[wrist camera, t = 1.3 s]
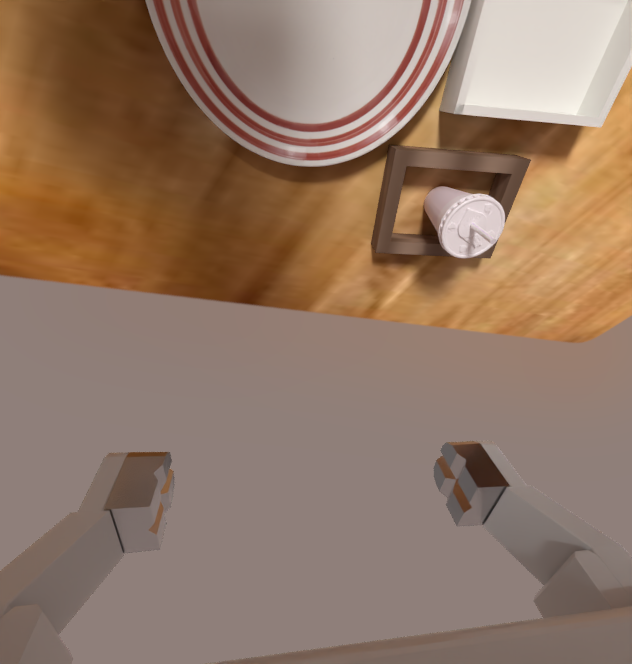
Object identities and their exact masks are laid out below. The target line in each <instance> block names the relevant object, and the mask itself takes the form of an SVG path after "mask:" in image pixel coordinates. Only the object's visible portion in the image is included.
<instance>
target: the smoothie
mask: <svg viewBox="0 0 632 664" xmlns="http://www.w3.org/2000/svg"><path fill="white" fill-rule="evenodd" d="M424 209H425V212H426V213H427V215H428V217H429V219H430V220H431V222H432V224H433V226H434V227H435V229H436V231H437V233H438V237H439V242H440V244H441V246H442V248H443V249H444V250H446V251H447V252H448V253H449V254H450V255H452V256H454V257H457V258H472V257H475V256H478V255H480V254H482V253H484V252H485V251H487V250H488V249H489V248H490V247H491V246H493V245H494V244H495V243H496V241H497V240H498V238H499V237H500V235H501V233H502V231H503V228H504V224H505V213H504V210H503V207H502V206H501V204H500V203H499V202H498V201H496V200H495V199H494V198H492V197H490V196H488V195H485V194H470V193H467V192H463V191H460V190H456V189H453V188H449V187H446V186H439V187H436V188H434V189H432V190H431V191H430V192H429V193H428V195H427V196H426V198H425V201H424Z"/></svg>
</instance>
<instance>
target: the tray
mask: <svg viewBox="0 0 632 664" xmlns="http://www.w3.org/2000/svg"><path fill="white" fill-rule="evenodd" d="M631 66H632V0H471V4H470V8H469V11H468V15H467V18H466V21H465V24H464V27H463V30H462V33H461V36H460V39H459V41H458V44H457V46H456V48H455V51H454V53H453V57H452V61H451V65H450V69H449V73H448V77H447V81H446V85H445V89H444V93H443V97H442V101H441V105H440V109H439V111H442V112H447V113H453V114H462V115H473V116H483V117H494V118H505V119H516V120H527V121H538V122H548V123H559V124H570V125H581V126H592V127H602V125H603V123H604V121H605V119H606V117H607V115H608V113H609V111H610V109H611V107H612V105H613V103H614V101H615V99H616V97H617V95H618V93H619V91H620V89H621V87H622V85H623V83H624V81H625V79H626V76H627V74H628V72H629V70H630V68H631Z"/></svg>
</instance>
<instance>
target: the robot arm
mask: <svg viewBox="0 0 632 664" xmlns="http://www.w3.org/2000/svg"><path fill="white" fill-rule="evenodd" d="M441 453H442V454H443V456H441V457H440V458H439V459H437V460H436V463H435V466H434V478H435V482H436V485H437V487H438V489H439V491H440V492H441V493H442V494H443V495H445V496H446V497H447V503H446V506H447V508H448V510H449V511H450V514H451V515H452V518H453V519H454V522H455V524H456V526H474V525H483V527H484V528H485V529H486V530H487V531H488V532H489V533H490V534H491V535H492V536H493V537H494V538H495V539H496V540H497V541H498V542H499V543H500V544H501V545H502V546H503V547H504V548H506V549H507V550H508V551H509V552H510V553H511V554H512V555H513V556H514V557H515V558H516V559H517V560H518V561H519V562H520V563H521V564H522V565H523V566H524V567H525V568H526V569H527V570H528V571H529V572H531V573H532V574H533V575H534V576H535V577H536V578H537V579H538V580H539V581H540V582H541V583H542V584H543V585H544V586H543V587H542V589H541V590H540V591H539V592H538V593H537V594H536V595H535V598H534V602H535V604H536V606H537V608H538V610H539V611H540V613H541V615H542V617H543V618H540V619H533V620H526V621H519V622H511V623H503V624H496V625H488V626H482V627H473V628H466V629H459V630H451V631H444V632H437V633H429V634H422V635H414V636H407V637H400V638H392V639H385V640H377V641H370V642H362V643H355V644H348V645H341V646H333V647H326V648H319V649H311V650H303V651H296V652H289V653H281V654H274V655H266V656H259V657H251V658H245V659H237V660H230V661H222V662H215V663H208V664H632V557H631V556H630V555H629V553H628V552H627V551H626V550H625V549H624V548H623V546H622V545H620V544H619V543H617V542H616V541H614V540H613V539H611V538H610V537H608V536H606V535H605V534H604V533H602V532H601V531H599V530H598V529H596V528H595V527H593V526H592V525H590V524H588V523H587V522H585V521H584V520H582V519H581V518H579V517H578V516H576V515H575V514H573V513H572V512H570V511H569V510H567V509H566V508H564V507H563V506H561V505H560V504H558V503H557V502H555V501H554V500H552V499H551V498H549V497H548V496H546V495H545V494H543V493H542V492H540V491H539V490H537V489H536V488H534V487H533V486H527V485H526V484H525V482H524V481H523V480H522V478H521V477H520V476H519V474H518V473H517V472H516V470H515V469H514V468H513V466H512V465H511V464H510V462H509V461H508V460H507V458H506V457H505V456H504V454H503V453H502V452H501V450H500V449H499V448H498V446H497V445H496V444H495V443H494V442H492V441H476V442H475V441H467V442H447V443H445V444H444V445H443V446H442V448H441ZM171 462H172V459H171V454H170V452H130V453H129V452H128V453H109V454H108V455H107V456H106V457H105V458H104V459H103V462H102V463H101V465H100V468H99V469H98V471H97V473H96V476H95V478H94V480H93V482H92V484H91V486H90V488H89V490H88V492H87V494H86V496H85V498H84V500H83V502H82V504H81V506H80V508H79V510H78V512H73V513H70V514H69V515H67V516H66V517H65V518H64V519H62V520H61V521H60V522H59V523H58V524H56V525H55V526H54V527H53V528H52V529H51V530H49V531H48V532H47V533H46V534H44V535H43V536H42V537H41V538H40V539H38V540H37V541H36V542H35V543H33V544H32V545H31V546H30V547H29V548H27V549H26V550H25V551H24V552H23V553H21V554H20V555H19V556H18V557H16V558H15V559H14V560H13V561H12V562H10V563H9V564H8V565H7V566H6V567H4V568H3V569H2V570H1V571H0V664H72V661H73V657H72V655H71V653H70V651H69V650H68V648H67V647H66V645H65V644H64V642H63V641H62V640H61V638H60V637H59V634H60V633H61V631H62V630H63V629H64V628H65V626H66V625H67V624H68V623H69V622H70V620H71V619H72V618H73V617H74V616H75V614H76V613H77V612H78V610H80V608H81V607H82V606H83V605H84V603H85V602H86V601H87V600H88V599H89V597H90V596H91V595H92V594H93V593H94V591H95V590H96V589H97V588H98V586H99V585H100V584H101V583H102V582H103V580H104V579H105V578H106V577H107V576H108V574H109V573H110V572H111V570H112V569H113V568H114V567H115V566H116V565H117V564H118V562H119V561H120V560H121V559H122V557H123V556H124V554H123V553H132V552H142V551H151V550H159V549H160V547H161V543H162V539H163V535H164V531H165V527H166V518H165V512H166V511H167V510H168V509H169V508H170V507H171V503H172V498H173V492H174V471H172V470H171V469H170V465H171Z"/></svg>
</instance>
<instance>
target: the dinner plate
mask: <svg viewBox="0 0 632 664" xmlns="http://www.w3.org/2000/svg"><path fill="white" fill-rule="evenodd" d="M145 1H146V4H147V8H148V11H149V14H150V17H151V20H152V23H153V25H154V28H155V31H156V33H157V36H158V38H159V41H160V43H161V45H162V48H163V50H164V52H165V54H166V56H167V58H168V60H169V62H170V64H171V66H172V67H173V69H174V71H175V73H176V74H177V76H178V78H179V80H180V81H181V83H182V84H183V86H184V87H185V89H186V90H187V92H188V93H189V95H190V96H191V97H192V99H193V100H194V101H195V103H196V104H197V105H198V106H199V108H200V109H201V110H202V111H203V112H204V113H205V114H206V116H207V117H208V118H209V119H210V120H211V121H212V122H213V123H214V124H215V125H216V126H217V127H218V128H220V129H221V130H222V131H223V132H224V133H225V134H226V135H228V136H229V137H230V138H231V139H233V140H234V141H236V142H237V143H239V144H240V145H241V146H243V147H245V148H247V149H248V150H250V151H252V152H254V153H256V154H258V155H260V156H262V157H265V158H267V159H270V160H273V161H276V162H279V163H283V164H288V165H294V166H305V167H318V166H328V165H334V164H339V163H343V162H346V161H349V160H352V159H354V158H357V157H359V156H362V155H364V154H366V153H368V152H370V151H372V150H373V149H375V148H377V147H378V146H380V145H381V144H383V143H384V142H386V141H387V140H389V139H390V138H391V137H393V136H394V135H395V134H396V133H397V132H398V131H400V130H401V129H402V128H403V127H404V126H405V125H406V124H407V123H408V122H409V121H410V120H411V119H412V118H413V117H414V115H415V114H416V113H417V112H418V111H419V110H420V108H421V107H422V106H423V105H424V103H425V102H426V100H427V99H428V98H429V96H430V95H431V93H432V92H433V90H434V89H435V87H436V86H437V84H438V82H439V81H440V79H441V77H442V75H443V73H444V72H445V70H446V68H447V66H448V64H449V62H450V60H451V58H452V55H453V53H454V51H455V48H456V46H457V44H458V41H459V39H460V36H461V33H462V30H463V27H464V24H465V21H466V18H467V15H468V11H469V8H470V4H471V0H145Z"/></svg>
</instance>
